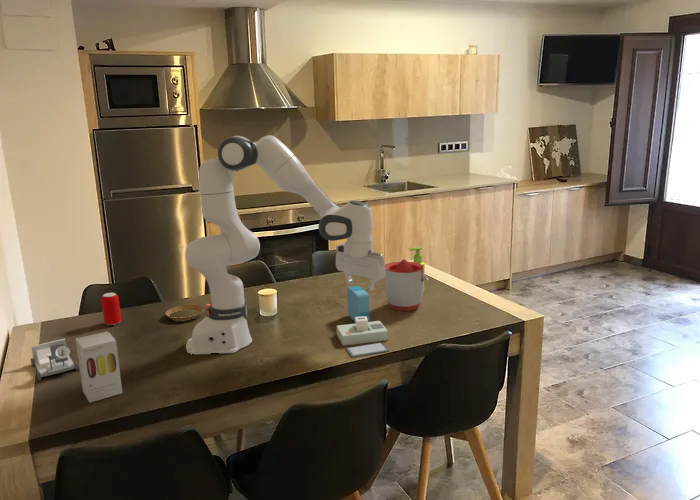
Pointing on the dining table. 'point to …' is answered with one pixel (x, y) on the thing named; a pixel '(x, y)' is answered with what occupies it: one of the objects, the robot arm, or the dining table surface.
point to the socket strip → (362, 333)
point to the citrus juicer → (404, 285)
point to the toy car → (52, 358)
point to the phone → (367, 349)
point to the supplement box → (99, 366)
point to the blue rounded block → (357, 302)
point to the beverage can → (111, 308)
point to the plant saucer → (184, 307)
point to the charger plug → (361, 324)
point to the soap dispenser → (418, 259)
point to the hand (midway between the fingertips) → (360, 287)
